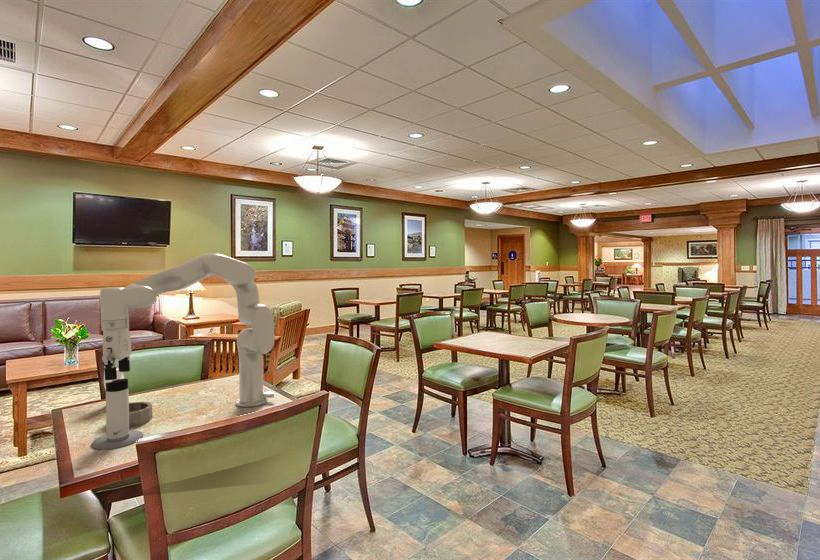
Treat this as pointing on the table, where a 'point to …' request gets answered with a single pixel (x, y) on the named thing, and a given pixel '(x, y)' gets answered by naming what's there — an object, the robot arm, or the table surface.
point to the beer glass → (119, 376)
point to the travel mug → (117, 410)
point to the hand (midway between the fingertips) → (118, 375)
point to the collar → (139, 413)
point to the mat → (104, 444)
